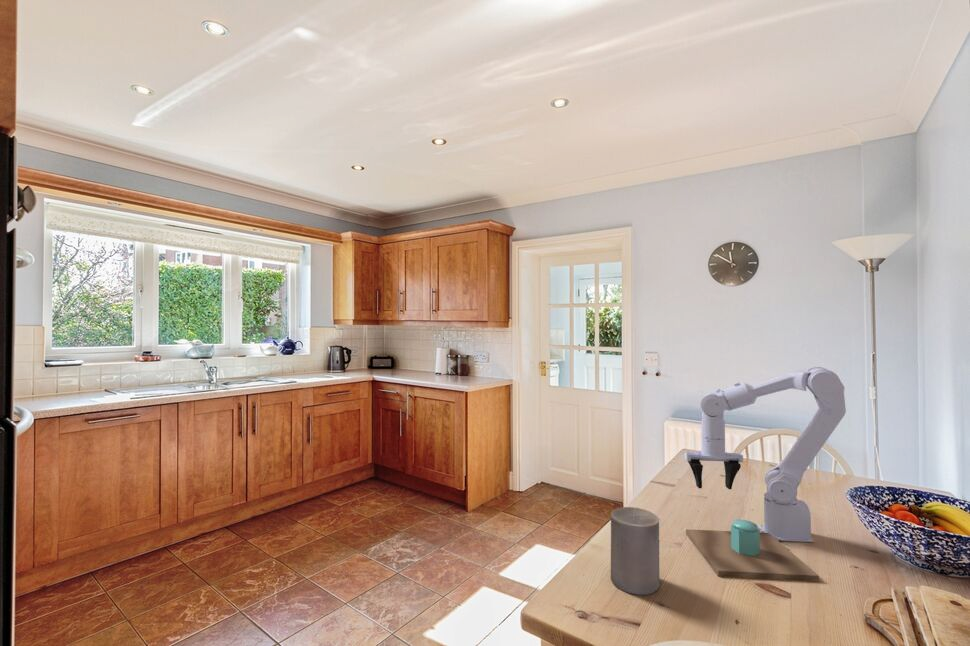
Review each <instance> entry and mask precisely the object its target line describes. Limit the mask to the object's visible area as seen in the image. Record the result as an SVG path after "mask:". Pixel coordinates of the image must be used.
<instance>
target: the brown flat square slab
mask: <svg viewBox="0 0 970 646" xmlns="http://www.w3.org/2000/svg"><path fill="white" fill-rule="evenodd" d="M685 535H686V537H687V538H688V539H689V540H690V542H691V543H692V544H693V546H694V547H695V548H696V549H697V550H698V552H699V553H700V555H701V556H702V557H703V558H704V560H705V562H707V564H708V565H709V566H710V568H711V569H712V570H713V571H714V573H715V574H716V576H717V577H725V578H741V579H742V578H745V579H746V578H747V579H763V580H782V581H784V580H785V581H799V582H800V581H803V582H804V581H805V582H820V575H819V574H818V573H816V572H815V571H814V570H813V569H812V568H811V567H809V565H807V564H806V563H805V562H803V560H801V559H800V558H799V557H798V556H797V555H795V554H794V553H793V552H792V551H791V550H789V549H788V548H787V547H786V546H785V545H784V544H783V543H781V541H778V540H776V539H775V538H774V537H773V536H772V535H771V534H769V533H764V532H763V531H761V532H760V553H759V554H757V555H755V556H749V555H744V554H739V553H738V552H736V551H735V550H734V549H732V548H731V530H730V531H729V530H712V529H711V530H708V529H685Z"/></svg>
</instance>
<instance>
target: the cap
mask: <svg viewBox="0 0 970 646" xmlns="http://www.w3.org/2000/svg"><path fill="white" fill-rule="evenodd" d="M730 531H731V548H732V549H734V550H735V551H736V552H738V553H739V554H744V555H749V556H755V555H757V554H759V553H760V531H761V530H760V529H759V528H758V524H757V523H755V522H753V521H750V520H746V519H734V520H733V521H732V524H730Z"/></svg>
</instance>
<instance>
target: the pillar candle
mask: <svg viewBox="0 0 970 646" xmlns="http://www.w3.org/2000/svg"><path fill="white" fill-rule="evenodd" d="M660 542H661V541H660V517H659V516H657V514H655V513H654V512H652V511H650V510H647V509H644V508H641V507H640V508H639V507H632V506H629V507H628V506H625V507H618V508H615V509H613V510H612V511H611V512H610V580H611V582H612V584H613V585H614V586H615V587H616V588H617V589H620V590H621V591H623V592H626V593H629V594H632V595H637V596H639V595H641V596H645V595H652V594H654V593H655V592H656V591H658V589H659V588H660Z"/></svg>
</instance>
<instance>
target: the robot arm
mask: <svg viewBox="0 0 970 646" xmlns="http://www.w3.org/2000/svg"><path fill="white" fill-rule="evenodd" d="M790 389H792V390H793V389H794V390H797V391H798V390H799V391H804V392H807V389H808V390H809V391H810V393H811V394H813V396H814V397H813V398H814V400H815V402H816V404H817V407H818V409H817V410H816V412H815V413H814V415H813V416H812V418H811V419H810V421H809V422H808V423H807V425H806V426H805V428H804V429H803V431H802V432H801V433H800V436H798V438H797V439H796V441H795V442H794V444H793V445H792V447H790V450H789V451H788V452H787V454H786V455H785V457H784V458H783V459H781V461H779V462H778V463H777V465H776V466H775V467H774V468H772V469H769V470H768V471H767V472H766V474H765V476H764V481H765V484H766V492H765V493H764V494H763V511H764V512H763V513H764V514H763V516H764V517H763V518H764V519H763V521H764V522H763V524H761V525H760V524H757V526H758V529H759V530H760V531H761V532H762V533H769V534H771V535H772V536H773V537H774V538H775V539H776V540H778V541H779V542H781V541H782V542H800V543H801V542H803V543H805V542H807V543H813V541H814V540H813V539H812V524H811V523H812V522H811V521H812V519H811V517H812V516H811V511H810V508H809V506H808V503H806V502H805V501H804V500H801V499H798V498H797V496H798V487H799V486H800V485H801V483H802V481H803V477H804V474H805V472H806V471H807V469H808V468H809V466H810V465H811V463H812V462H813V460H814V459H815V458H816V457H817V456H818V453H819V452H820V451H821V450H822V448H823V446H824V445H825V443H826V442H827V441H828V439H829V438H830V437H831V435H832V434H833V432H834V431H835V430H836V428H837V427H838V425H839V424H840V422H841V420H842V419H844V417H845V415H846V413H847V412H846V411H847V409H846V408H847V407H846V398H845V386H844V384H843V383H842V381H841V379H840V377H839V376H838V375H837V374H836V373H835V372H833V371H832V370H829V369H827V368H824V367H822V366H821V367H820V366H814V367H810V368H808V369H806V368H805V369H800V370H796V371H792V372H789V373H786V374H781V375H779V376H776V377H774V378H771V379H768V380H764V381H762V382H758V383H756V384H753V385H751V384H748V383H745V382H743V383H741V382H739V381H737V382H734V384H733V386H732V385H731V386H729V387H727V388H724V389H721V390H720V388H718V389H715V392H708V393H706V394H705V395H704V396H702V398H701V401H700V408H701V410H702V412H701V418H702V419H701V423H700V424H701V427H700V428H701V429H700V430H701V451H699V450H697V451H684V460H685V461H686V462H687V463H688V464H689V467H690V469H691V471H692V473H693V477H694V480H695V484H696V487H697V488H698V489H702V488H703V479H702V478H703V477H702V476H703V469H704V465H703V464H702V463H701V461H702V462H705V461H706V462H723V465H724V473H725V474H724V477H725V478H724V482H725V488H727V489H728V490H733V489H732V487H733V484H734V481H735V478H736V475H737V474H738V472H739V471H740V470H741V467H742V465H741V463H744V455H743V454H741V453H739V452H738V453H737V452H736V453H735V452H727V451H726V422H725V420H724V412H725V411H732V410H736V409H741V408H743V407H747V406H750V405H753V404H755V403H756V401H757V399H758V398H760V397H762V396H763V397H764V396H767V395H771V394H774V393H778V392H782V391H786V390H790Z"/></svg>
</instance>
